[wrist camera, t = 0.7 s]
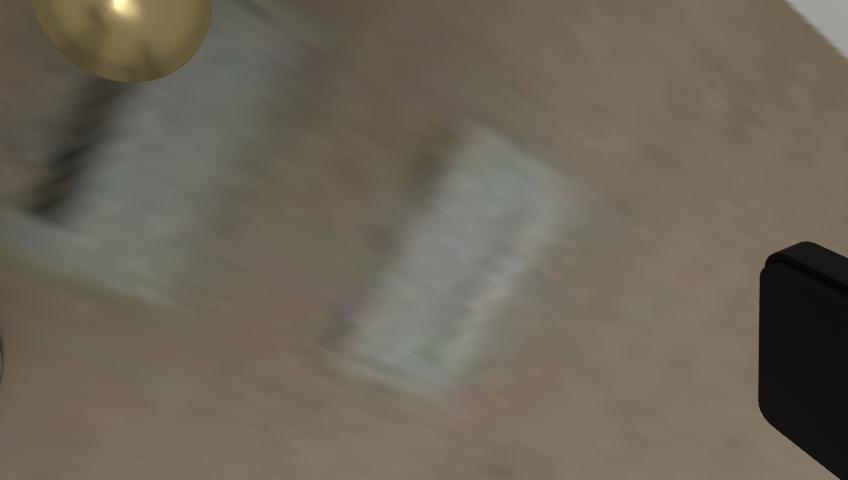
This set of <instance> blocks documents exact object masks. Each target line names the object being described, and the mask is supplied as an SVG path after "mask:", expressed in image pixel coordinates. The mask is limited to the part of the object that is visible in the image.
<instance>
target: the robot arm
mask: <svg viewBox="0 0 848 480" xmlns="http://www.w3.org/2000/svg"><path fill="white" fill-rule="evenodd" d="M1 368H2V356H1V350H0V381H1ZM758 402H759V407H760V410H761V412H762V414H763V416H764V418H765V419H766V420H767V421H768V423H770V424H771V425H772V426H773V427H774V428H775V429H777V430H778V431H779V432H780V433H782V434H783V435H784V436H786V437H787V438H788V439H789V440H791V441H792V442H793V443H794V444H796V445H797V446H798V447H800V448H801V449H802V450H803V451H805V452H806V453H807V454H808V455H810V456H811V457H812V458H813V459H815V460H816V461H817V462H819V463H820V464H821V465H822V466H824V467H825V468H826V469H827V470H829V471H830V472H831V473H833V474H834V475H835V476H836V477H838V478H839V479H840V480H848V258H846V257H844V256H842V255H840V254H837V253H835V252H833V251H831V250H829V249H826V248H824V247H822V246H820V245H818V244H815V243H812V242H809V241H806V242H800V243H798V244H795V245H793V246H790V247H788V248H786V249H783V250H781V251H778V252H776V253H773V254H772V255H770V256H769V257H768V258H767V260H766V262H765V268H764V269H762V271H761V273H760V300H759V384H758Z"/></svg>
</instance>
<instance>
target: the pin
mask: <svg viewBox="0 0 848 480" xmlns="http://www.w3.org/2000/svg"><path fill="white" fill-rule="evenodd" d="M31 1H32V5H33V8H34V11H35V15H36V17H37V19H38V21H39V23H40V25H41V27H42V29H43V31H44V32H45V34H46V35H47V37H48V38H49V39H50V41H51V42H52V43H53V44H54V46H55V47H56V48H57V49H58V50H59V51H60V52H61V53H62V54H63V55H64V56H65V57H67V58H68V59H69V60H71V61H72V62H73V63H74V64H76V65H78V66H79V67H81V68H82V69H84V70H86V71H88V72H90V73H92V74H95V75H97V76H100V77H103V78H106V79H110V80H115V81H122V82H143V81H150V80H154V79H158V78H161V77H164V76H166V75H168V74H170V73H172V72H174V71H176V70H177V69H179V68H180V67H182V66H183V65H184V64H185V63H186V62H188V61H189V60H190V59H191V57H192V56H193V55H194V54H195V53H196V51H197V50H198V48H199V47H200V46H201V44H202V42H203V40H204V38H205V35H206V32H207V29H208V26H209V21H210V16H211V0H31Z"/></svg>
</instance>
